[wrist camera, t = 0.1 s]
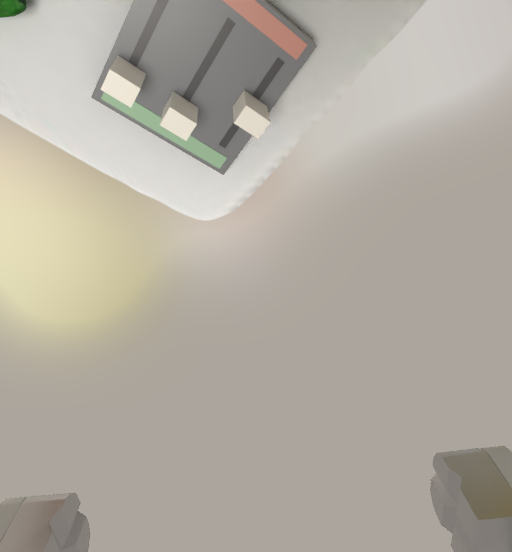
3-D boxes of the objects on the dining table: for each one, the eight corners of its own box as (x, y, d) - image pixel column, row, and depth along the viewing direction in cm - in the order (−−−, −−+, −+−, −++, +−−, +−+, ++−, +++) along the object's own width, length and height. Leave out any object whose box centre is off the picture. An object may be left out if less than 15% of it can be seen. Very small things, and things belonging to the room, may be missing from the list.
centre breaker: (173, 91, 50) (169, 107, 46) (198, 107, 51) (196, 124, 48) (163, 108, 51) (159, 125, 47) (188, 123, 53) (186, 141, 49)
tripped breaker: (243, 89, 50) (246, 105, 47) (266, 106, 52) (270, 122, 48) (232, 106, 52) (233, 123, 48) (255, 122, 53) (258, 139, 50)
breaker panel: (171, -82, 42) (168, -80, 39) (312, 39, 50) (316, 46, 48) (96, 88, 52) (91, 97, 50) (223, 164, 60) (223, 175, 58)
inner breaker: (117, 55, 47) (109, 69, 43) (146, 73, 48) (140, 88, 45) (109, 74, 48) (100, 89, 44) (137, 92, 50) (130, 107, 46)
